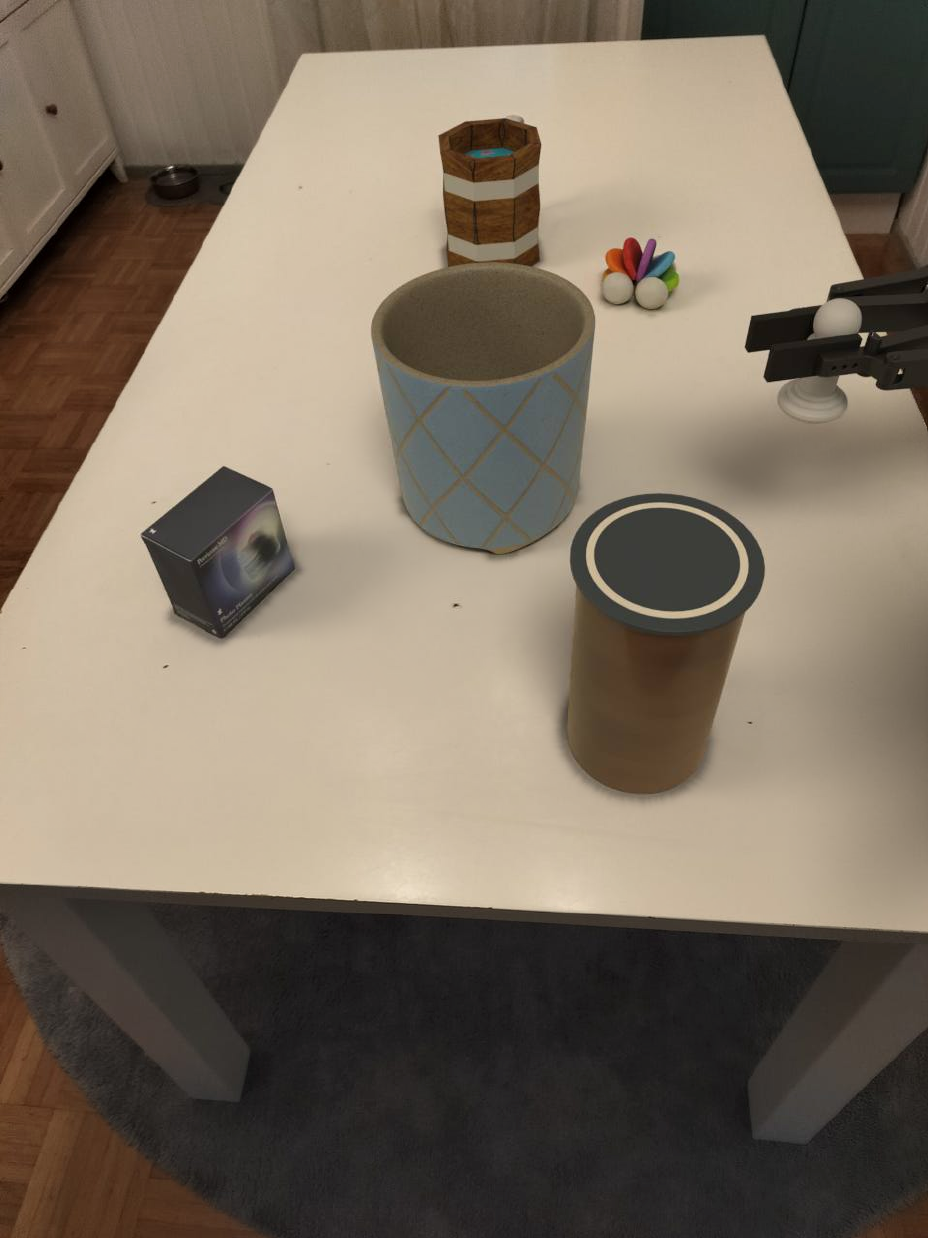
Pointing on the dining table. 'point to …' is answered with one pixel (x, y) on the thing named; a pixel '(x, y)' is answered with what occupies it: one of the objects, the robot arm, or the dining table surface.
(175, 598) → the small box
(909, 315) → the robot arm
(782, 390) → the chess piece
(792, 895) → the dining table surface
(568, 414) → the planter
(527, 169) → the mug
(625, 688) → the walnut pedestal
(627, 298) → the rainbow petal fan toy
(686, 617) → the slate board
